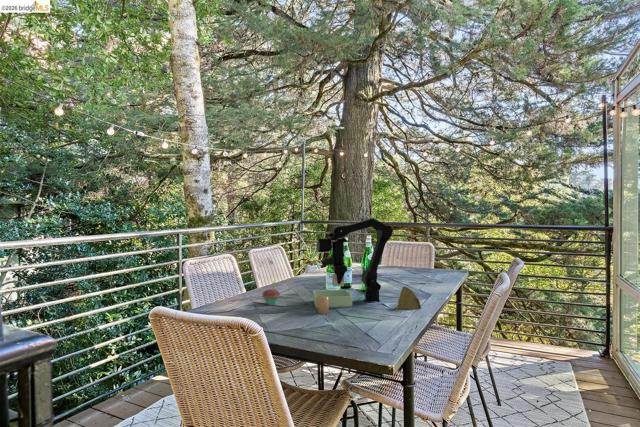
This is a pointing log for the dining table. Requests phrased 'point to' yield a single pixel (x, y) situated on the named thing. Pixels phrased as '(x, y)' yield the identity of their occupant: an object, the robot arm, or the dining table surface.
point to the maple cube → (334, 281)
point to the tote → (334, 298)
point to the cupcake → (271, 295)
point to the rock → (408, 300)
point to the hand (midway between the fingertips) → (338, 282)
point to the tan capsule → (323, 304)
